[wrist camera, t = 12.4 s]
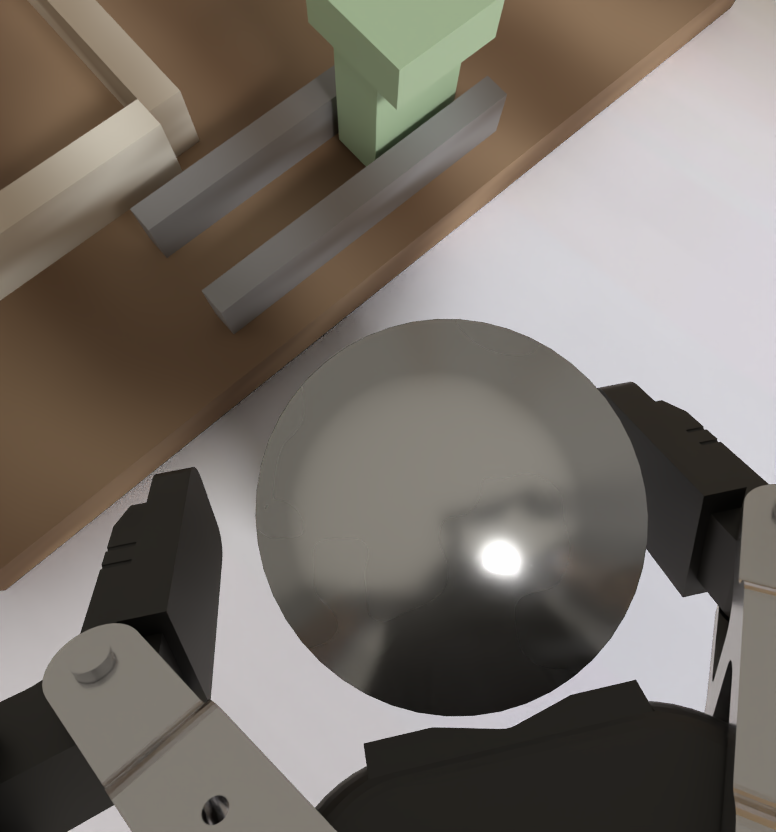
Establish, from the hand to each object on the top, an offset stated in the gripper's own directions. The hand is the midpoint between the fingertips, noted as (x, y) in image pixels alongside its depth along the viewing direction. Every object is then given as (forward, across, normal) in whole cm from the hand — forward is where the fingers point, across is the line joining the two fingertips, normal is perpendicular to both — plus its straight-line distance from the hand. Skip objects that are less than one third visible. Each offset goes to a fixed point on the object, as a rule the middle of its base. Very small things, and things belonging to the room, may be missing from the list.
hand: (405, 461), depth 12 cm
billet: (+3, 0, -5) cm, 5 cm away
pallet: (+15, -3, +7) cm, 17 cm away
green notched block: (+10, +2, +5) cm, 11 cm away
